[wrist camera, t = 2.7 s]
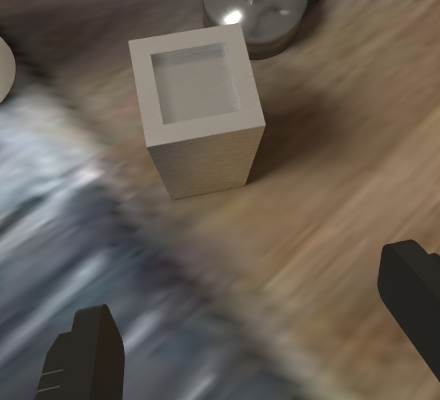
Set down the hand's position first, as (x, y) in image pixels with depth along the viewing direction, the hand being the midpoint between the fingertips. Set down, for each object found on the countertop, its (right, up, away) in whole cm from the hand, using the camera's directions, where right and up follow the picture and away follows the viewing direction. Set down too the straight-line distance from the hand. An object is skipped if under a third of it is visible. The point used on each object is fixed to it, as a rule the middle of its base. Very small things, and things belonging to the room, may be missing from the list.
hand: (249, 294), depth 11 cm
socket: (-2, +6, +14) cm, 15 cm away
